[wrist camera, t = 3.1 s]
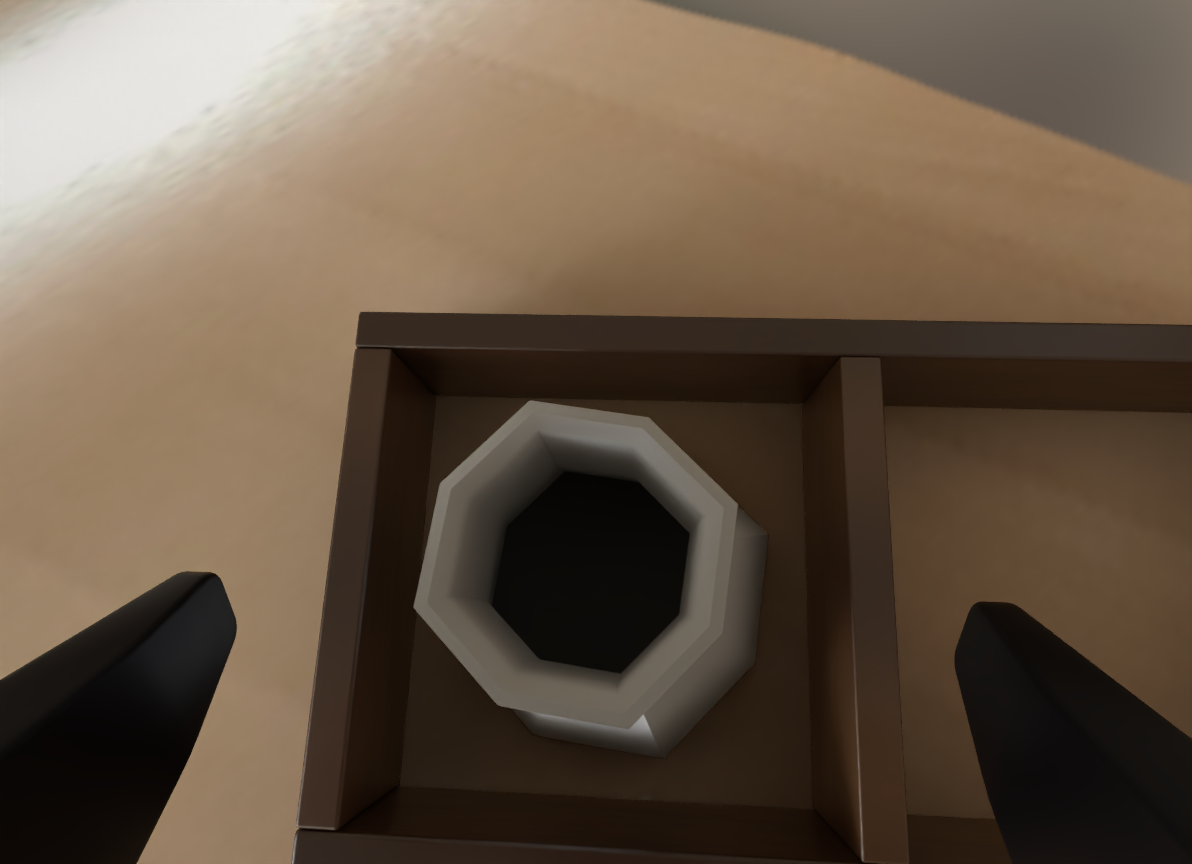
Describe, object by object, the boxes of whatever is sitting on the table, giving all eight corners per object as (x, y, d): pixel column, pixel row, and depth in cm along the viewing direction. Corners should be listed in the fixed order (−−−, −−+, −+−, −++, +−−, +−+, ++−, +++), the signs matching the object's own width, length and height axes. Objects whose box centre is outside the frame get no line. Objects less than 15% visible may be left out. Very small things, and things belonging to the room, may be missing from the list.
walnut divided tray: (1343, 880, 15) (1555, 961, 11) (360, 822, 16) (286, 880, 13) (1253, 382, 17) (1403, 326, 14) (409, 365, 18) (358, 310, 15)
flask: (818, 519, 17) (1062, 400, 7) (681, 817, 16) (756, 1158, 6) (548, 386, 18) (447, 129, 8) (399, 653, 17) (75, 714, 7)
